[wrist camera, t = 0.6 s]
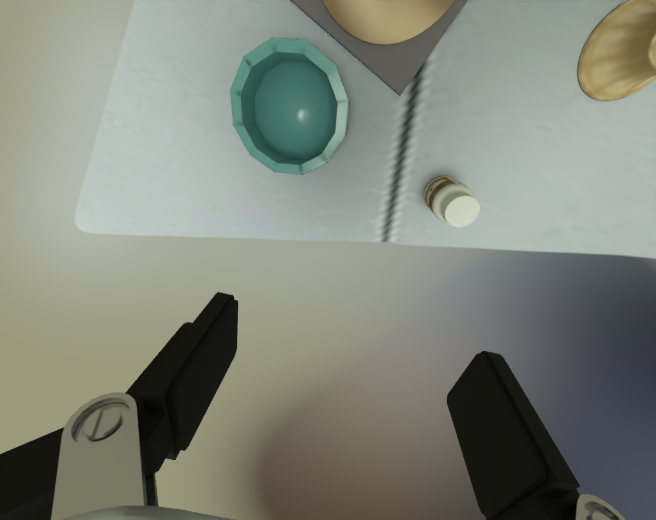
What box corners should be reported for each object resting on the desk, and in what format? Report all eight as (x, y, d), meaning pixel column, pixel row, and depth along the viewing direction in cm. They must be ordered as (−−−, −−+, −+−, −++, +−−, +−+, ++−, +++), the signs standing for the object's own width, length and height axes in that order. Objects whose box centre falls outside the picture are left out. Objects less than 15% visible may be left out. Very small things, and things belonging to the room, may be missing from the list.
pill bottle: (435, 169, 32) (455, 184, 25) (466, 183, 33) (494, 200, 26) (416, 202, 34) (431, 223, 28) (446, 214, 35) (467, 238, 28)
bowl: (279, 22, 27) (264, 4, 22) (369, 98, 29) (371, 95, 25) (233, 127, 32) (214, 129, 28) (312, 184, 35) (306, 194, 30)
